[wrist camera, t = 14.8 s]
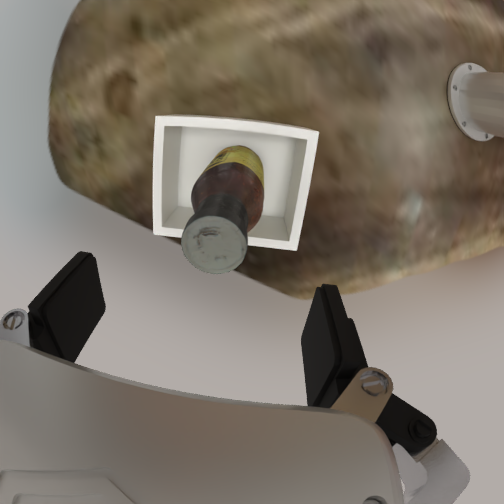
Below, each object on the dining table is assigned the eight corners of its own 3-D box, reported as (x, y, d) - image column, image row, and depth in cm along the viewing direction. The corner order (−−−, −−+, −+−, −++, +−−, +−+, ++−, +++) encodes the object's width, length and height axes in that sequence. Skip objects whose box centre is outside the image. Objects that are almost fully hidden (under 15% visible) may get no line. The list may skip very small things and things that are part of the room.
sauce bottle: (223, 136, 32) (181, 168, 14) (271, 155, 33) (288, 210, 15) (204, 184, 35) (152, 265, 17) (250, 202, 36) (243, 299, 18)
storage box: (305, 127, 32) (319, 131, 25) (289, 223, 38) (296, 250, 31) (177, 114, 31) (155, 116, 24) (172, 210, 38) (153, 234, 30)
